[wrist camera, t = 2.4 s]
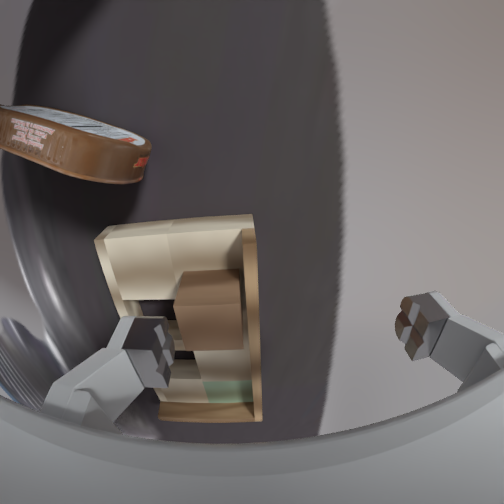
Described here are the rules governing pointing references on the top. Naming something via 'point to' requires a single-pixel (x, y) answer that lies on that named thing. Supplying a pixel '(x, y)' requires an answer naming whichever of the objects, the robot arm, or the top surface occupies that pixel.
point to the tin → (73, 144)
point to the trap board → (165, 287)
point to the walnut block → (210, 310)
